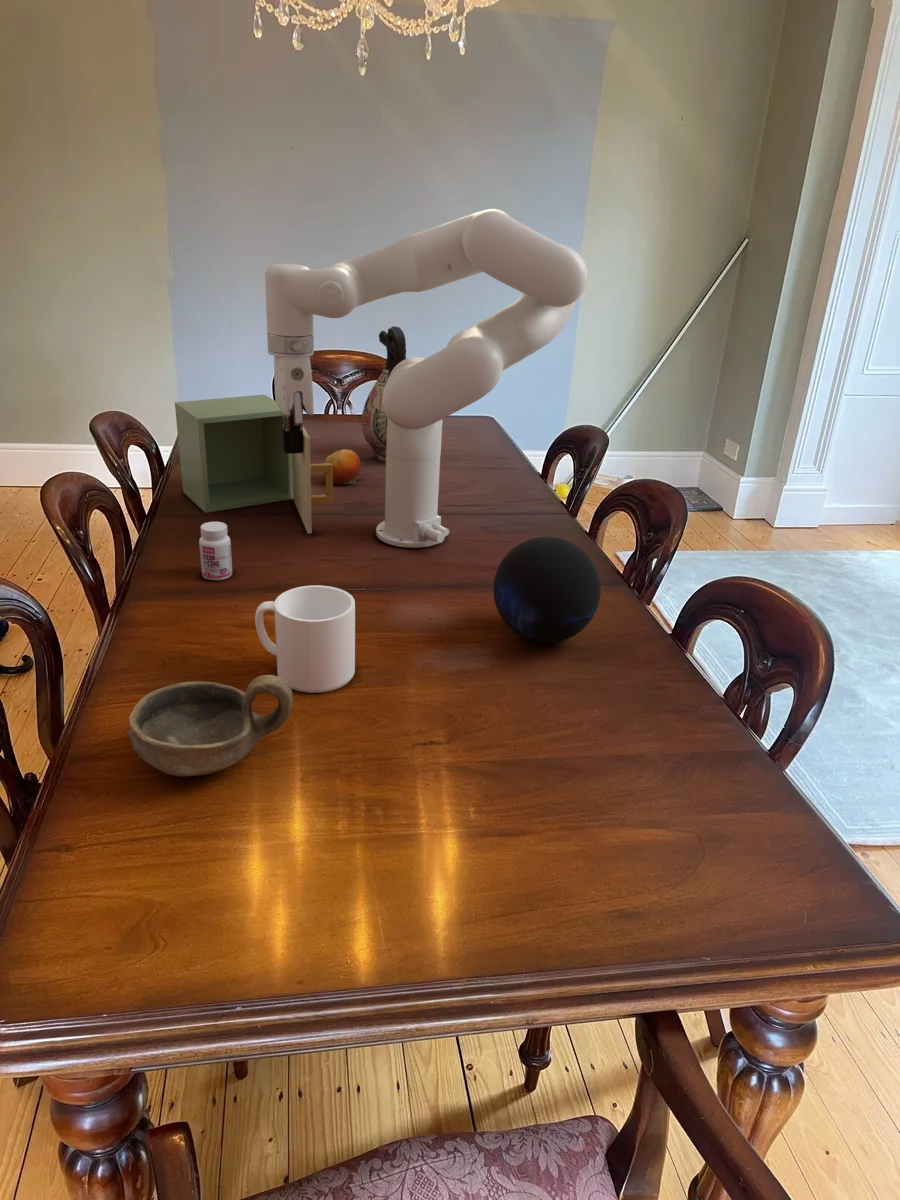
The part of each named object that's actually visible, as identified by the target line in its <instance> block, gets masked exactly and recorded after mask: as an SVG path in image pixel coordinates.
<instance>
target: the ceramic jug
mask: <svg viewBox="0 0 900 1200" xmlns="http://www.w3.org/2000/svg"><path fill="white" fill-rule="evenodd" d="M378 340H379V342H380V344H382V345H383V346H385V347H386V348H385V349H386V359H385V367H384V368H383V370H382V372H381V374H379V375H380V376H379V377H378V378H377V379H376V381H375V383H374V384H373V387H372V389H371V390H370V391H369V393H368V396H367V398H366V400H365V403H364V406H363V409H362V412H361V431H362V434H363V438H364V440H365V442H366V443H367V444H368V445H369V447H370V448H371V449H372V451H373V452H374V453H375V456H376V458H377V459H378V460H380V461H382V462H386V447H387V418H388V417H387V415H386V413H385V411H384V408H383V401H382V398H383V391H384V388H385V385H386V383H387V380H388V378H389V376H390V374H391V372H392V370H393V369H394V368H395V366H396V365H397V364H399V363H400V362H401V361H403V360H405V359H407V341H406V335H405V333H404V331H403V330H402V328H401V327H399V326H391V327H389V328H388V329H387V332H386V331H385V330H381V331H380V332H379V333H378Z"/></svg>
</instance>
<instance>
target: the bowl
mask: <svg viewBox="0 0 900 1200" xmlns="http://www.w3.org/2000/svg"><path fill="white" fill-rule="evenodd" d="M292 690H293V689H291V688H290V686H289V684H288V683H287V682H286V681H285V680H284V679H282V678H280V677H278V675H273V674H265V675H260V676H256V678H254V679H253V680H252V681H250V683H249V684H248V685H247V687H246V690H245V691H243V690H241V689H239V688H236V687H234V686H231V685H228V684H222V683H218V682H212V681H198V680H197V681H185V682H178V683H174V684H171V685H167V686H163V687H161V688H158V689H155V690H152V691H150V692H148V693H147V694H146V695H144V696H143V697H142V698H141V699H140V700H139V701H138V702H137V703H136V704H135V705H134V706H133V708H132V712H131V713H130V714H129V717H128V723H129V727H130V729H129V730H128V734H127V735H128V739H129V740H130V742H131V746H132V748H133V750H134V752H135V754H136V755H137V756H138V758H140V759H141V760H142V761H144V762H146V763H147V764H148V765H150V766H151V767H153V768H154V769H156V770H158V771H160V772H162V773H164V774H166V775H171V776H174V777H175V776H176V777H195V776H196V777H197V776H198V777H199V776H205V775H211V774H215V773H217V772H220V771H223V770H224V769H225V770H226V769H227V768H229V767H231V766H233V765H235V764H236V763H238V762H239V761H241V760H242V759H243V758H245V757H246V756H247V755H248V754H249V752H250V751H251V750H252V749H253V748H254V746H256V744H258V742H259V741H260V740H261V739H263V738H264V737H266V736H267V735H270V734H271V733H273V732H275V731H277V730H278V729H280V728H281V727H283V725H285V723H286V722H287V720H288V719H289V717H290V715H291V713H292V709H293V699H294V696H293V691H292ZM264 693H265V694H266V693H267V694H270V695H273V696H274V697H276V699H277V702H278V705H277V706H276V708H275V709H274V710H272V712H270V713H269V714H266V715H259V714H257V713H255V712H254V710H253V706H252V703H253V702H254V700H255V699H256V697H257V696H258V695H259V694H264Z"/></svg>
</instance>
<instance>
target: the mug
mask: <svg viewBox="0 0 900 1200" xmlns="http://www.w3.org/2000/svg"><path fill="white" fill-rule="evenodd" d="M266 611H272V612H274V629H275V642H273V641H272V640H271V639H270V637H269V636H268V633H267V631H266V628H265V623H264V614H265V612H266ZM254 616H255V617H254V618H255V619H254V623H255V629H256V634H257V637H258V639H259V641H260V644H261V645H262V646H263V649H265V651H266V652H268V653H270V654H272V655H273V656H275V657H276V668H277V669H276V671H277V676H278V677H280V678H282V679H284V680H285V681H286V682H287V683H288V684H289V686H290V688H291V690H294V691H297V692H301V693H309V694H320V693H321V694H322V693H328V692H332V691H335V690H338V689H341V688H343V687H344V686H346V685H348V683H349V682H350V681H351V680H352V679H353V678H354V676H355V673H356V600H355V598H354V597H353V595H352V594H350V593H349V592H348V591H346V590H344V589H341V588H338V587H335V586H330V585H321V584H318V585H316V584H315V585H314V584H313V585H304V586H298V587H294V588H291V589H288V590H286V591H284V592H282V593H281V594H279V595H278V596H277V597H276V599H275V600H274V601H273V600H270V601H269V600H268V601H263V602H262V603H260V604H259V605H258V606H257V608H256V611H255V615H254Z"/></svg>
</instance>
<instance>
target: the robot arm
mask: <svg viewBox="0 0 900 1200" xmlns="http://www.w3.org/2000/svg"><path fill="white" fill-rule="evenodd" d="M588 272H589V271H588V266H587V265H586V262H585V260H584V258H583V257H582V255H580V254H579V252H578V251H576V250H575V249H573V248H572V247H571V246H569V245H566V244H565V243H564V244H563V243H560V242H558V241H557V240H554V239H552V238H550V237H547V235H544V234H543V233H540V232H538V231H536V230H534V229H532V228H531V227H528V226H527V225H525V224H523V223H522V222H520V221H518V220H516V219H515V218H513V217H511V216H510V215H509V214H508V213H507V212H505V211H503V210H501V209H498V208H488V209H487V208H486V209H482V210H479V211H476V212H474V213H471V214H468V215H465V216H462V217H460V218H457V219H454V220H451V221H448V222H446V223H445V222H444V223H443V224H439V225H436V226H433V227H430V228H427V229H425V230H421V231H419V232H416V233H412V234H410V235H408V236H405V237H402V238H400V239H399V240H397V241H395V242H393V243H390V244H389V245H386V246H383V247H381V248H378V249H375V250H372V251H368V252H367V253H362V254H361V255H357V256H354V257H351V258H349V259H344V260H342V261H340V262H337V263H334V264H330V265H329V266H327V267H325V268H320V269H319V268H318V269H317V268H316V269H310V268H309V267H308V266H306V265H302V264H296V263H273V264H270V265H268V266H267V268H266V269H265V273H264V275H265V276H264V283H265V313H266V335H267V337H266V338H267V354H268V355H270V356H273V376H274V379H273V380H274V397H275V401H276V404H277V406H278V407H279V409H280V410H281V411H282V417H283V428H286V429H283V450H284V451H285V453H286V454H292V453H303V427H304V412H305V413H306V415H307V416H308V417H312V416H314V413H315V412H314V393H313V392H314V391H313V389H314V387H313V374H312V365H311V358H310V357H312V356H314V353H315V350H314V349H315V348H314V347H315V346H314V343H315V342H314V338H315V337H314V335H315V334H314V316H319V317H324V318H329V319H340V318H343V317H346V316H347V315H349V314H350V313H351V312H352V311H353V310H354V309H355V308H358V307H360V306H363V305H365V304H368V303H371V302H375V301H377V300H380V299H384V298H387V297H390V296H393V295H398V294H402V293H409V292H410V293H421V292H426V291H430V290H433V289H436V288H439V287H442V286H445V285H447V284H451V283H453V282H457V281H459V280H462V279H466V278H468V277H472V276H475V275H478V274H481V273H485V274H486V275H488V276H490V277H492V278H493V279H495V280H497V281H498V282H500V283H503V284H504V285H506V286H508V287H511V288H512V289H514V290H516V291H518V292H520V293H522V295H521V296H520V297H518V299H516V300H515V301H513V303H511V304H509V305H507V306H506V307H504V308H502V309H501V310H499V311H498V312H496V313H495V314H493V315H491V316H488V317H487V318H485V319H483V320H482V321H480V322H477V323H475V324H474V325H472V326H470V327H467V328H465V329H463V330H460V331H459V332H457V333H456V334H455V335H453V336H452V337H451V338H450V339H449V341H448V342H447V345H446V346H445V347H444V348H442V349H440V350H439V351H437V352H435V353H433V354H431V355H430V356H428V357H425V358H424V357H419V356H414V357H413V356H412V357H407V358H406V359H405V360H403V361H401V362H400V363H399V364H397V365H396V366H395V368H394V369H393V370H392V372H391V374H390V376H389V378H388V380H387V383H386V385H385V388H384V391H383V398H382V401H383V408H384V411H385V413H386V415H387V417H388V418H387V447H386V461H385V488H384V489H385V490H384V491H385V493H384V497H385V498H384V499H385V500H384V520H383V521H381V522H379V523H378V524H377V526H376V527H375V535H376V537H377V538H378V539H379V540H380V541H381V542H383V543H385V544H388V545H391V546H394V547H399V548H406V549H420V548H428V547H432V546H435V545H438V544H441V543H443V542H444V541H445V538H446V537H448V536H449V534H450V530H449V528H446V527H444V526H443V525H442V516H441V515H439V514H438V509H439V491H440V471H441V470H440V469H441V455H442V454H441V453H442V436H443V421H444V420H443V419H445V418H447V417H449V416H451V415H453V414H454V413H456V412H458V411H460V410H462V409H464V408H466V407H468V406H470V405H472V404H473V403H475V402H477V401H478V400H481V399H482V398H484V397H485V396H486V395H488V394H489V393H490V392H491V391H492V390H493V389H495V387H496V386H497V384H498V383H499V381H500V379H501V376H502V373H503V371H506V370H507V369H508V368H511V367H513V366H514V365H516V364H517V363H519V362H521V361H522V360H524V359H526V358H527V357H529V356H530V355H533V354H534V353H536V352H537V351H539V350H541V349H542V348H544V347H545V346H547V345H548V344H549V343H550V342H552V341H553V340H554V339H555V338H556V337H557V336H558V335H559V334H560V333H561V331H562V330H563V329H564V327H565V326H566V324H567V323H568V321H569V319H570V317H571V315H572V313H573V311H574V308H575V306H576V303H577V300H579V298H580V297H582V295H583V293H584V292H585V290H586V287H587V285H588V279H589V278H588V277H589V273H588Z"/></svg>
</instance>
